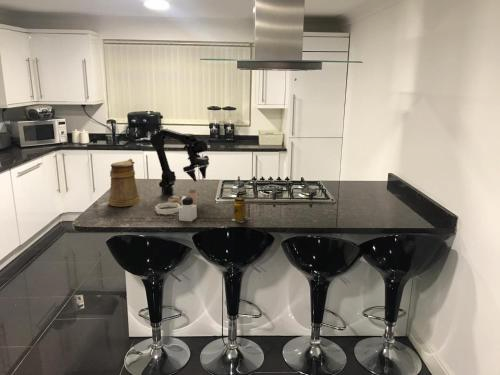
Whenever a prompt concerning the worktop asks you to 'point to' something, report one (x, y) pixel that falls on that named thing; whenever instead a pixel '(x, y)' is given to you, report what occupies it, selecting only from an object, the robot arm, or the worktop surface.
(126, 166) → the tankard
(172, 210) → the dish
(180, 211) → the medicine bottle
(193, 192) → the spice jar
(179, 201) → the parts tray
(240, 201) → the condiment
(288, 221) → the worktop surface
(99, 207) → the worktop surface
